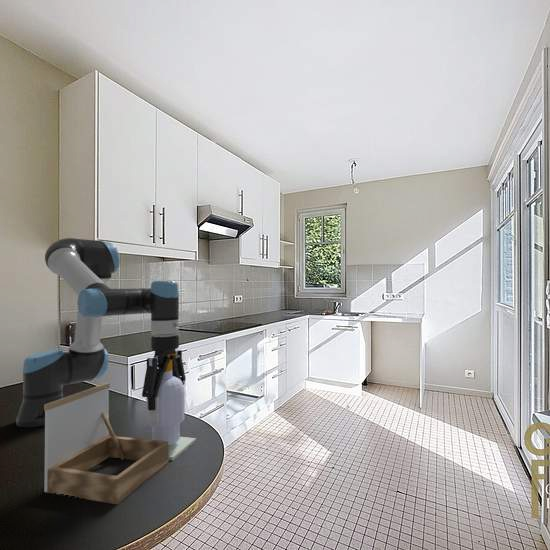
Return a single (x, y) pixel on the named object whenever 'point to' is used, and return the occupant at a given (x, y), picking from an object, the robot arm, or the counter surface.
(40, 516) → the counter surface
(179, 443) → the trivet
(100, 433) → the lid
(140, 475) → the frame
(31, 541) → the counter surface
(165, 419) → the soap bottle
